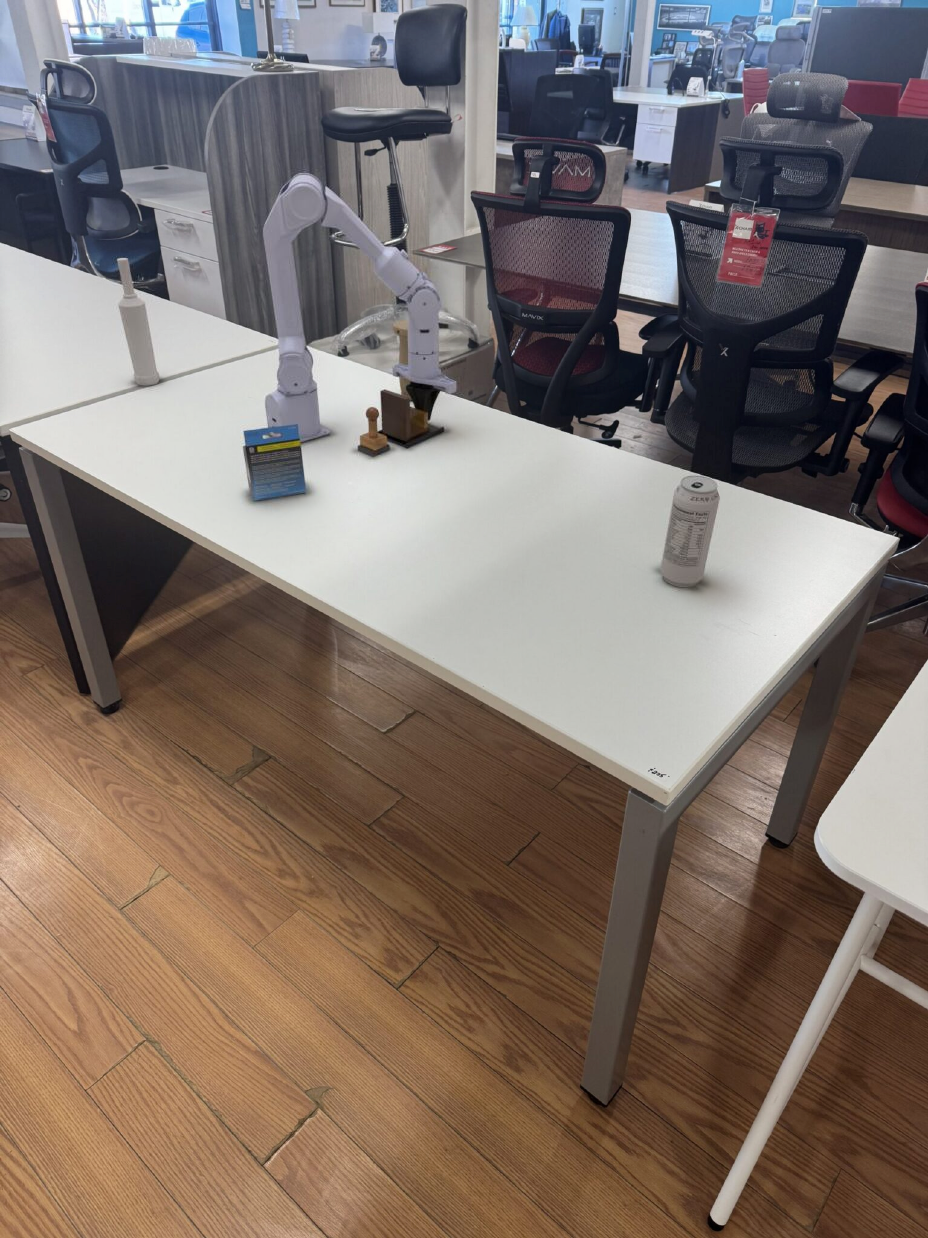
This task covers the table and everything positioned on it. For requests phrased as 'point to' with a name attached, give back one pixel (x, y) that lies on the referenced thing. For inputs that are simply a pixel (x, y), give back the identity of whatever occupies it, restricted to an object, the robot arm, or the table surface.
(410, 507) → the table surface
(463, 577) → the table surface
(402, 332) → the handle
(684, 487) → the energy drink can
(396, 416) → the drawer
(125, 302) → the bottle
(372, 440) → the stamp
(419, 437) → the track
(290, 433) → the blue product box
